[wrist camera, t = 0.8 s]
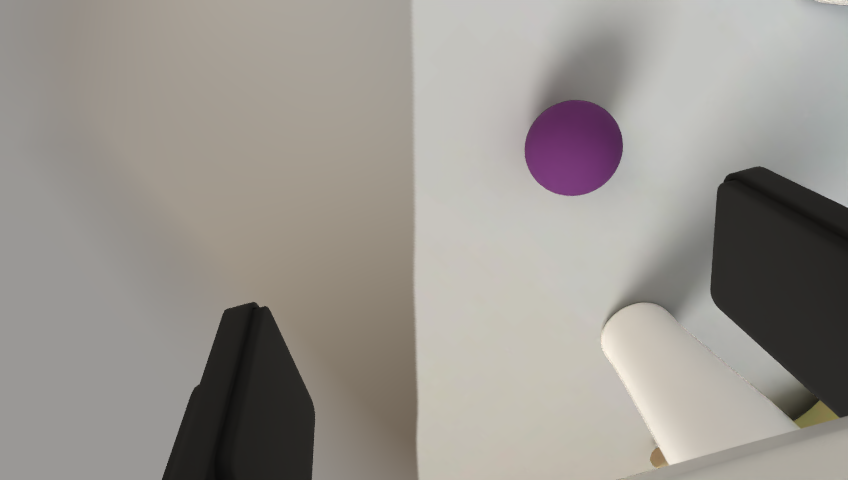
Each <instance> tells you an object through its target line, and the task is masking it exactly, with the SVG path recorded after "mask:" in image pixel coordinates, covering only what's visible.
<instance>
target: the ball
mask: <svg viewBox="0 0 848 480" xmlns="http://www.w3.org/2000/svg"><path fill="white" fill-rule="evenodd" d="M622 151H623V142H622V135H621V132H620V129H619V127H618V124H617V123H616V121H615V120H614V118H613V117H612V116H611V115H610V114H609V113H608V112H607V111H606V110H605V109H603V108H602V107H600V106H598V105H596V104H594V103H591V102H587V101H581V100H570V101H565V102H561V103H558V104H556V105H553V106H551V107H550V108H548V109H547V110H545V111H544V112H543V113H542V114H541V115H540V116H539V117H538V118H537V119H536V120H535V121H534V123H533V124H532V126H531V128H530V130H529V132H528V134H527V137H526V142H525V158H526V163H527V166H528V168H529V171H530V172H531V174H532V176H533V177H534V178H535V180H536V181H537V182H538V183H539V184H540V185H542V186H543V187H544V188H546V189H547V190H549V191H551V192H554V193H557V194H560V195H566V196H576V195H582V194H586V193H589V192H592V191H594V190H596V189H598V188H599V187H601V186H602V185H603V184H605V183H606V182H607V181H608V180H609V179H610V178H611V177H612V175H613V174H614V173H615V171H616V169H617V167H618V165H619V163H620V160H621V157H622Z"/></svg>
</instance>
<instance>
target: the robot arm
mask: <svg viewBox="0 0 848 480" xmlns="http://www.w3.org/2000/svg"><path fill="white" fill-rule="evenodd" d="M815 1H818V2H821V3H828V4H837V5H848V0H815ZM710 290H711V296H712V299H713V301H714V303H715V304H716V306H717V307H718V308H719V309H720V310H721V311H722V312H724V313H725V314H726V315H727V316H728V317H729V318H730V319H731V320H732V321H733V322H735V323H736V324H737V325H738V326H739V327H740V328H741V329H742V330H743V331H744V332H746V333H747V334H748V335H749V336H750V337H751V338H752V339H753V340H754V341H755V342H757V343H758V344H759V345H760V346H761V347H762V348H763V349H764V350H765V351H766V352H768V353H769V354H770V355H771V356H772V357H773V358H774V359H775V360H776V361H778V362H779V363H780V364H781V365H782V366H783V367H784V368H785V369H786V370H787V371H789V372H790V373H791V374H792V375H793V376H794V377H795V378H796V379H797V380H798V381H800V382H801V383H802V384H803V385H804V386H805V387H806V388H807V389H808V390H809V391H811V392H812V393H813V394H814V395H815V396H816V397H817V398H818V399H819V400H820V401H822V402H823V403H824V404H825V405H826V406H827V407H828V408H829V409H830V410H832V411H833V412H834V413H835V414H836V415H837V416H838V417H839V418H838V419H835V420H831V421H827V422H824V423H820V424H816V425H813V426H809V427H805V428H802V429H798V430H794V431H791V432H787V433H784V434H780V435H776V436H773V437H769V438H765V439H762V440H758V441H754V442H751V443H747V444H744V445H740V446H736V447H733V448H729V449H726V450H722V451H718V452H715V453H711V454H708V455H704V456H701V457H697V458H693V459H690V460H686V461H683V462H679V463H676V464H672V465H668V466H665V467H661V468H658V469H654V470H651V471H647V472H643V473H640V474H636V475H633V476H629V477H626V478H622V479H618V480H848V208H847V207H845V206H843V205H841V204H839V203H837V202H835V201H832V200H830V199H828V198H826V197H824V196H822V195H820V194H818V193H816V192H814V191H812V190H810V189H807V188H805V187H803V186H801V185H799V184H797V183H795V182H793V181H791V180H789V179H787V178H785V177H782V176H780V175H778V174H776V173H774V172H772V171H770V170H768V169H766V168H763V167H760V166H759V167H753V168H750V169H746V170H742V171H739V172H735V173H731V174H729V175H728V176H726V178H725V180H724V183H722V184H720V185H719V187H718V191H717V202H716V217H715V231H714V245H713V260H712V274H711V288H710ZM314 427H315V411H314V406H313V402H312V399H311V397H310V395H309V393H308V391H307V389H306V386H305V384H304V382H303V380H302V378H301V376H300V374H299V371H298V369H297V367H296V365H295V363H294V361H293V358H292V356H291V354H290V352H289V350H288V348H287V346H286V343H285V341H284V339H283V337H282V335H281V333H280V331H279V328H278V326H277V324H276V322H275V320H274V318H273V316H272V314H271V311H270V310H269V308H268V307H266V306H264V307H259V306H258V305H257V303H255V302H252V303H248V304H244V305H240V306H236V307H233V308H229V309H226V310H225V311H224V313H223V316H222V319H221V322H220V325H219V328H218V331H217V334H216V337H215V340H214V343H213V346H212V349H211V352H210V355H209V358H208V361H207V364H206V367H205V370H204V373H203V376H202V379H201V382H200V384H199V385H198V386H197V387H195V388H194V390H193V392H192V394H191V396H190V399H189V402H188V405H187V408H186V411H185V414H184V417H183V420H182V423H181V425H180V428H179V431H178V435H177V437H176V440H175V443H174V446H173V449H172V452H171V455H170V457H169V461H168V463H167V466H166V469H165V472H164V475H163V478H162V480H312V465H313V446H314Z"/></svg>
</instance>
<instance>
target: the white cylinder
mask: <svg viewBox="0 0 848 480" xmlns="http://www.w3.org/2000/svg"><path fill="white" fill-rule="evenodd" d="M601 346H602V350H603V352H604V354H605V355H606V357H607V358H608V360H609V361H610V363H611V364H612V366H613V367H614V368H615V370H616V372H617V374H618V375H619V377H620V379H621V380H622V382H623V384H624V386H625V388H626V389H627V391H628V393H629V395H630V396H631V398H632V400H633V402H634V403H635V405H636V407H637V409H638V411H639V412H640V414H641V416H642V418H643V420H644V421H645V423H646V425H647V427H648V429H649V430H650V432H651V434H652V436H653V438H654V439H655V441H656V443H657V445H658V447H659V448H660V450H661V452H662V454H663V456H664V457H665V459H666V461H667V463H668V465H672V464H676V463H679V462H683V461H686V460H690V459H693V458H697V457H701V456H704V455H708V454H711V453H715V452H718V451H722V450H726V449H729V448H733V447H736V446H740V445H744V444H747V443H751V442H754V441H758V440H762V439H765V438H769V437H773V436H776V435H780V434H784V433H787V432H791V431H794V430H798V429H801V428H800V427H799V426H798V425H797V424H796V423H795V422H794V421H793V420H791V419H790V418H789V417H788V416H787V415H786V414H785V413H784V412H783V411H782V410H780V409H779V408H778V407H777V406H776V405H775V404H774V403H772V402H771V401H770V400H769V399H768V398H767V397H765V396H764V395H763V394H762V393H761V392H760V391H758V390H757V389H756V388H755V387H754V386H752V385H751V384H750V383H749V382H748V381H746V380H745V379H744V378H743V377H742V376H741V375H739V374H738V373H737V372H736V371H735V370H733V369H732V368H731V367H730V366H729V365H727V364H726V363H725V362H724V361H723V360H721V359H720V358H719V357H718V356H717V355H716V354H714V353H713V352H712V351H711V350H710V349H708V348H707V347H706V346H705V345H704V344H703V343H701V342H700V341H699V340H698V339H697V338H696V337H694V336H693V335H692V334H691V333H690V332H689V331H687V330H686V329H685V328H684V327H683V326H682V325H681V324H680V323H679V322H678V321H677V320H676V319H675V318H674V317H673V316H672V315H671V314H670V313H669V312H668V311H667V310H665V309H664V308H663V307H661V306H659V305H656V304H653V303H646V302H643V303H636V304H632V305H629V306H627V307H624V308H623V309H621V310H619V311H618V312H617V313H615V314H614V315H613V316H612V317H611V318H610V319H609V320H608V322H607V323H606V325H605V326H604V329H603V331H602V334H601Z"/></svg>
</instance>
